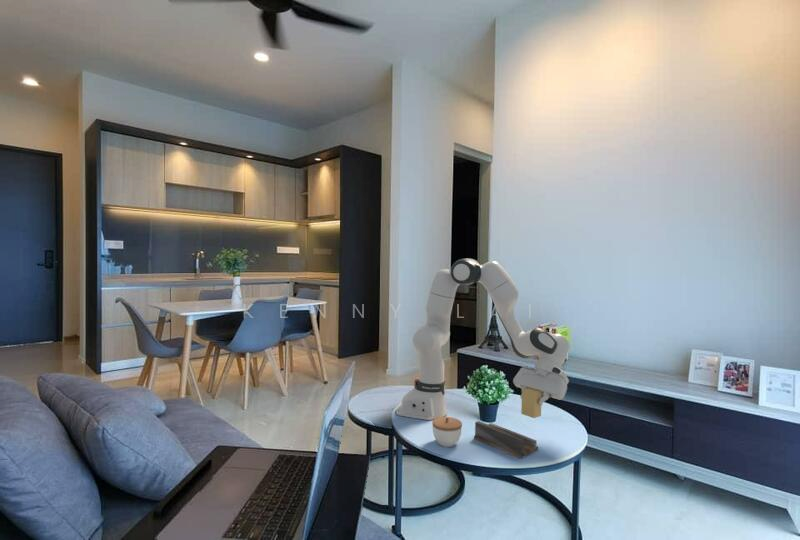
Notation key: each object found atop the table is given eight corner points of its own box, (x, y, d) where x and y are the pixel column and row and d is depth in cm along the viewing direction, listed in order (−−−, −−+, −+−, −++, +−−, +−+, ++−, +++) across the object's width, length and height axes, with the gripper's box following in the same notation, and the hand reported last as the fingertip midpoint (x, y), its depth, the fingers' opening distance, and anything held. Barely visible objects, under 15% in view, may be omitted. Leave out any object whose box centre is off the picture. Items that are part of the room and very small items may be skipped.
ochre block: (528, 411, 156) (528, 387, 155) (541, 415, 151) (541, 391, 151) (521, 413, 153) (522, 390, 153) (534, 418, 148) (535, 394, 148)
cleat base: (492, 431, 159) (492, 415, 159) (538, 449, 144) (538, 432, 144) (474, 438, 152) (474, 422, 152) (519, 458, 137) (520, 441, 137)
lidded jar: (455, 452, 141) (455, 425, 141) (427, 445, 146) (427, 419, 146) (465, 440, 150) (466, 415, 150) (439, 434, 155) (439, 410, 155)
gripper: (519, 360, 164) (504, 389, 158) (567, 372, 148) (552, 404, 142) (525, 370, 167) (510, 398, 161) (573, 382, 151) (558, 414, 145)
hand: (530, 401), depth 152 cm, fingers closed on ochre block, 5 cm apart
